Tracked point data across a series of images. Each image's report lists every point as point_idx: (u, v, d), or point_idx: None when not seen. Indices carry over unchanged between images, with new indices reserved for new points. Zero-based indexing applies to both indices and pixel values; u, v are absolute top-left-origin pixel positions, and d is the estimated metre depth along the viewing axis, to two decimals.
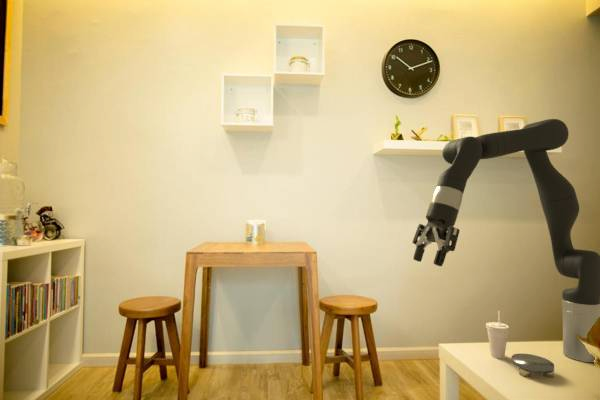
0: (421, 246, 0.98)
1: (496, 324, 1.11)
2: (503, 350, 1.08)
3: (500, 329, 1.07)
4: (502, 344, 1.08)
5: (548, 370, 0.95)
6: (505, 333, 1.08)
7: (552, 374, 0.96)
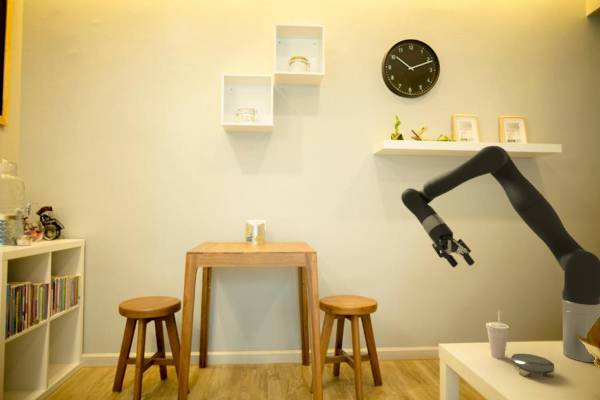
0: (464, 254, 1.25)
1: (496, 324, 1.11)
2: (503, 350, 1.08)
3: (500, 329, 1.07)
4: (502, 344, 1.08)
5: (548, 370, 0.95)
6: (505, 333, 1.08)
7: (552, 374, 0.96)
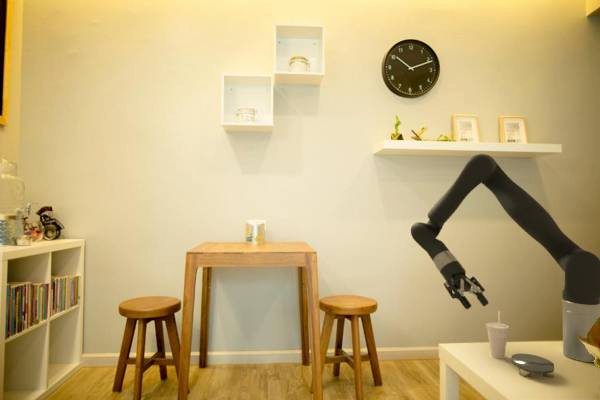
0: (477, 294, 1.21)
1: (496, 324, 1.11)
2: (503, 350, 1.08)
3: (500, 329, 1.07)
4: (502, 344, 1.08)
5: (548, 370, 0.95)
6: (505, 333, 1.08)
7: (552, 374, 0.96)
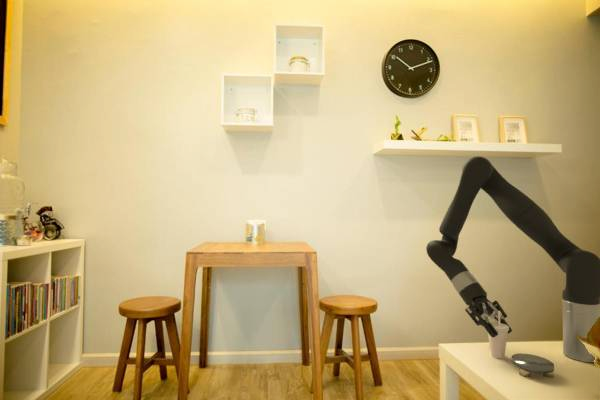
0: None
1: (496, 324, 1.10)
2: (503, 350, 1.08)
3: (500, 329, 1.07)
4: (502, 344, 1.08)
5: (548, 370, 0.95)
6: (505, 333, 1.08)
7: (552, 374, 0.96)
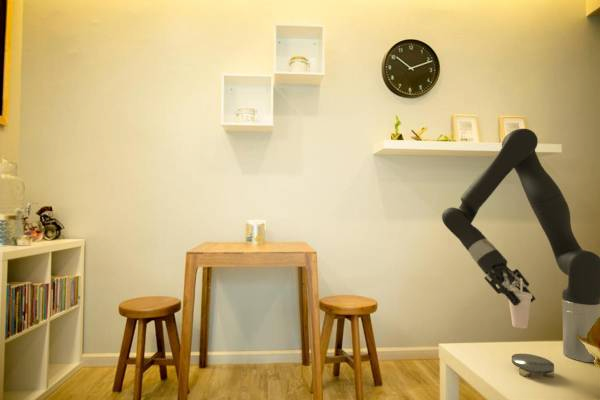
0: None
1: (518, 292, 1.04)
2: (526, 319, 1.01)
3: (523, 296, 1.01)
4: (525, 312, 1.01)
5: (548, 370, 0.95)
6: (528, 301, 1.01)
7: (552, 374, 0.96)
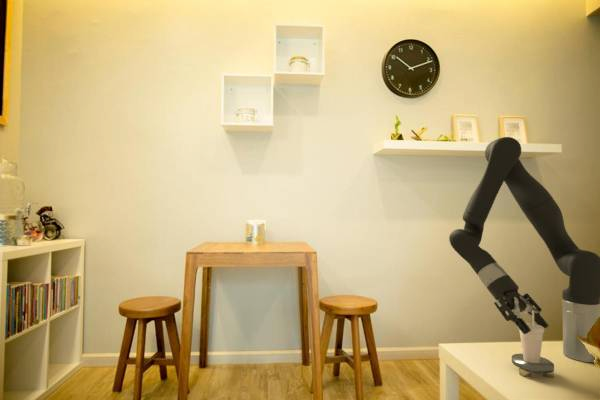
0: (534, 315, 1.03)
1: (529, 325, 1.00)
2: (538, 354, 0.98)
3: (535, 330, 0.97)
4: (537, 347, 0.97)
5: (548, 370, 0.95)
6: (540, 335, 0.97)
7: (552, 374, 0.96)
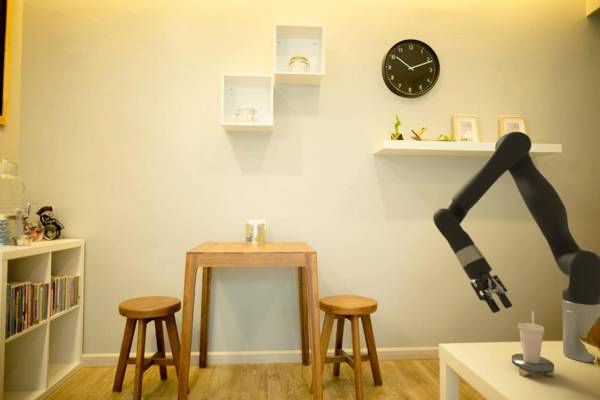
0: (500, 295, 1.12)
1: (529, 325, 1.00)
2: (538, 354, 0.98)
3: (535, 330, 0.97)
4: (537, 347, 0.97)
5: (548, 370, 0.95)
6: (540, 335, 0.97)
7: (552, 374, 0.96)
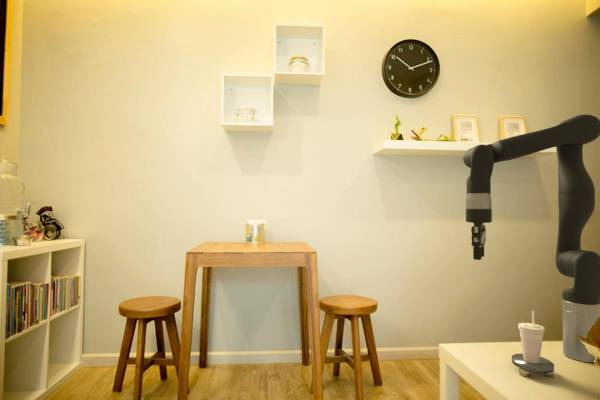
0: None
1: (530, 325, 1.00)
2: (538, 354, 0.98)
3: (535, 330, 0.97)
4: (537, 347, 0.97)
5: (548, 370, 0.95)
6: (541, 335, 0.97)
7: (552, 374, 0.96)
